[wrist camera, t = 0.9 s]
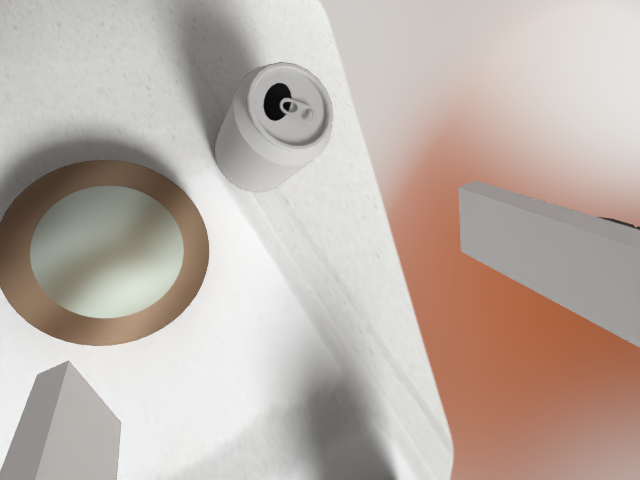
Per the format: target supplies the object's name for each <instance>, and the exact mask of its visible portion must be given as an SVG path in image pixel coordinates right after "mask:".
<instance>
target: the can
mask: <svg viewBox="0 0 640 480" xmlns="http://www.w3.org/2000/svg"><path fill="white" fill-rule="evenodd" d="M332 121H333V110H332V103H331V100H330V98H329V95H328V92H327V90H326V89H325V87H324V86H323V85H322V83H321V82H320V81H319V79H318V78H317V77H315V76H314V75H313V74H312V73H311V72H309V71H308V70H307V69H305V68H302V67H300V66H298V65H296V64H291V63H284V62H279V63H274V64H269V65H267V66H262V67H258V68H256V69H255V70H253V71H252V72H250V73H249V74H247V75H246V76H245V77H244V79H243V80H242V82H241V83H240V84H239V86H238V87H237V89H236V92H235V94H234V97H233V99H232V102H231V104H230V107H229V109H228V111H227V114H226V116H225V119H224V121H223V124H222V126H221V129H220V131H219V133H218V136H217V140H216V144H215V155H216V161H217V163H218V165H219V168H220V170H221V172H222V173H223V174H224V176H225V177H226V178H227V179H228V180H229V181H230V182H231V183H233V184H234V185H236V186H237V187H239V188H240V189H243V190H247V191H250V192H266V191H268V190H271V189H274V188H276V187H277V186H279V185H280V184H281V183H283V182H284V181H285V180H287V179H288V178H289V177H291V176H292V175H294V174H295V173H296V172H298V171H299V170H300V169H302V168H303V167H304V166H306V165H307V164H309V163H310V162H311V161H313V160H314V159H315V158H316V157H317V156H319V155H320V154H321V153H322V152H323V151H324V149H325V147H326V145H327V144H328V142H329V140H330V135H331V130H332Z"/></svg>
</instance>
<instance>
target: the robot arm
mask: <svg viewBox="0 0 640 480" xmlns="http://www.w3.org/2000/svg"><path fill="white" fill-rule="evenodd" d="M459 210H460V238H461V251H462V252H464V253H465V254H467V255H469V256H471V257H473V258H474V259H476V260H478V261H480V262H482V263H484V264H486V265H488V266H489V267H491V268H493V269H495V270H497V271H499V272H501V273H502V274H504V275H506V276H508V277H510V278H512V279H513V280H515V281H517V282H519V283H521V284H523V285H525V286H527V287H528V288H530V289H532V290H534V291H536V292H538V293H539V294H541V295H543V296H545V297H547V298H549V299H551V300H552V301H554V302H556V303H558V304H560V305H562V306H564V307H566V308H567V309H569V310H571V311H573V312H575V313H577V314H578V315H580V316H582V317H584V318H586V319H588V320H590V321H591V322H593V323H595V324H597V325H599V326H601V327H603V328H604V329H606V330H608V331H610V332H612V333H614V334H616V335H618V336H619V337H621V338H623V339H625V340H627V341H629V342H630V343H633V344H634V345H636V346H638V347H640V227H634V225H632V224H628V223H624V222H621V221H618V220H614V219H610V218H601V217H595V216H591V215H588V214H585V213H581V212H578V211H575V210H572V209H568V208H565V207H561V206H558V205H555V204H551V203H548V202H545V201H541V200H538V199H535V198H531V197H528V196H525V195H521V194H518V193H515V192H511V191H508V190H505V189H501V188H498V187H494V186H491V185H488V184H485V183H481V182H478V181H473V182H471V183H469V184H466V185H464V186H462V187H460V188H459ZM120 432H121V422H120V420H119V419H118V418H117V417H116V416H115V414H114V413H113V412H112V411H111V410H110V409H109V407H108V406H107V405H106V404H105V403H104V401H103V400H102V399H101V398H100V397H99V396H98V394H97V393H96V392H95V391H94V390H93V388H92V387H91V386H90V385H89V384H88V382H87V381H86V380H85V379H84V378H83V377H82V375H81V374H80V373H79V372H78V371H77V369H76V368H75V367H74V366H73V365H72V364H71V362H70V361H67V362H65V363H62V364H60V365H58V366H56V367H53V368H51V369H49V370H47V371H44V372H42V373H40V374H38V375H37V377H36V379H35V382H34V385H33V387H32V390H31V392H30V395H29V398H28V400H27V403H26V406H25V408H24V411H23V413H22V416H21V419H20V421H19V424H18V427H17V429H16V432H15V435H14V437H13V440H12V442H11V445H10V448H9V450H8V453H7V456H6V458H5V461H4V464H3V466H2V469H1V471H0V480H117V469H118V457H119V444H120Z"/></svg>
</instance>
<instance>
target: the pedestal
mask: <svg viewBox="0 0 640 480" xmlns="http://www.w3.org/2000/svg"><path fill="white" fill-rule="evenodd" d="M208 260H209V241H208V235H207V230H206V227H205V224H204V221H203V219H202V217H201V215H200V213H199V211H198V209H197V208H196V206H195V205H194V203H193V202H192V200H191V199H190V198H189V197H188V196H187V194H186V193H185V192H184V191H183V190H182V189H180V188H179V187H178V186H177V185H176V184H175V183H173V182H172V181H170V180H169V179H168V178H166V177H165V176H163V175H161V174H159V173H157V172H155V171H153V170H151V169H148V168H146V167H143V166H140V165H136V164H132V163H128V162H121V161H111V160H97V161H86V162H81V163H75V164H72V165H68V166H65V167H62V168H59V169H57V170H55V171H52V172H50V173H48V174H46V175H45V176H43V177H41V178H40V179H38V180H36V181H35V182H33V183H32V184H31V185H30V186H28V187H27V188H26V189H25V190H24V191H23V192H22V193H21V194H20V195H19V196H18V197H17V198H16V199H15V200H14V201H13V203H12V204H11V205H10V207H9V208H8V210H7V211H6V213H5V215H4V217H3V219H2V221H1V223H0V287H1V290H2V291H3V293H4V295H5V297H6V298H7V300H8V302H9V303H10V304H11V306H12V307H13V308H14V309H15V310H16V312H17V313H18V314H19V315H20V316H22V317H23V318H24V319H25V320H26V321H27V322H28V323H30V324H31V325H33V326H34V327H36V328H37V329H38V330H40V331H42V332H44V333H46V334H48V335H50V336H52V337H55V338H58V339H61V340H64V341H67V342H71V343H76V344H81V345H92V346H105V345H116V344H123V343H127V342H131V341H135V340H138V339H141V338H143V337H146V336H148V335H151V334H153V333H154V332H156V331H158V330H160V329H162V328H163V327H165V326H166V325H168V324H169V323H171V322H172V321H173V320H175V319H176V318H177V317H178V316H179V315H180V314H181V313H182V312H183V311H184V310H185V309H186V308H187V307H188V306H189V305H190V303H191V302H192V300H193V299H194V298H195V296H196V295H197V293H198V291H199V289H200V287H201V285H202V283H203V280H204V277H205V275H206V271H207V266H208Z"/></svg>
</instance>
